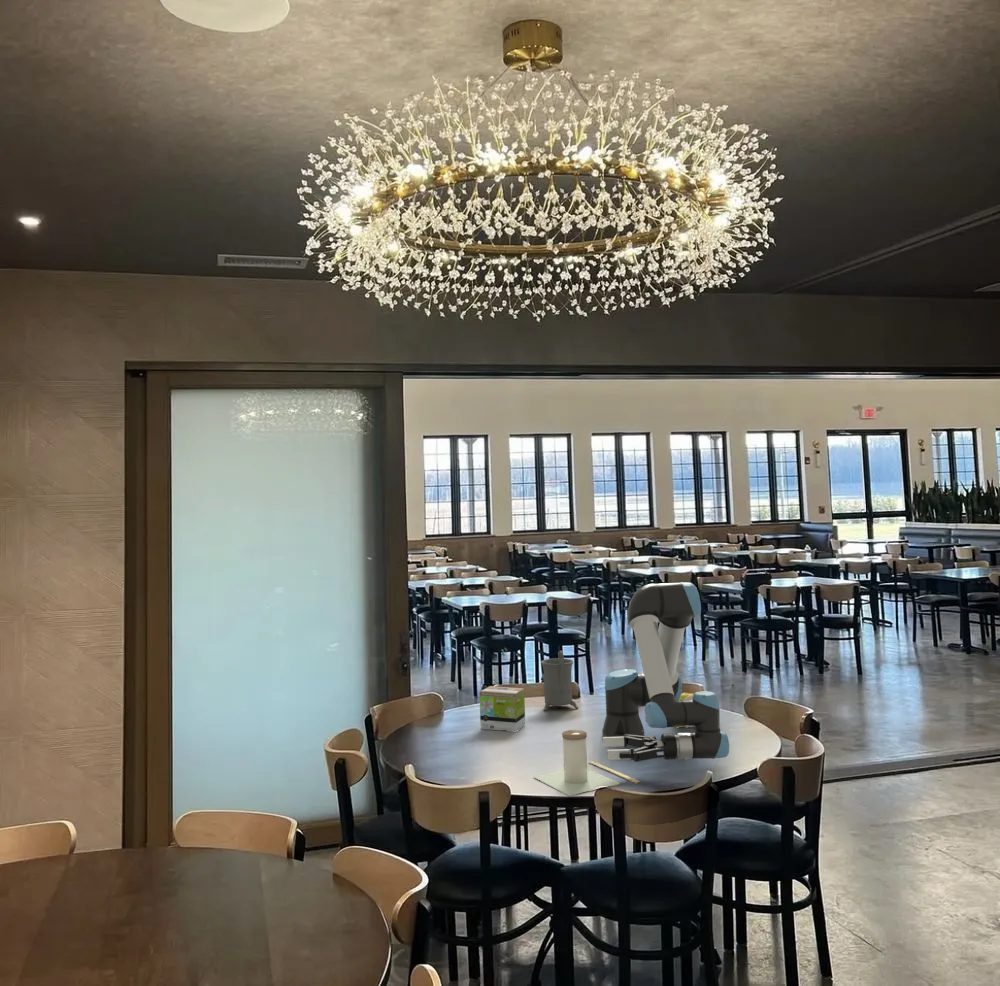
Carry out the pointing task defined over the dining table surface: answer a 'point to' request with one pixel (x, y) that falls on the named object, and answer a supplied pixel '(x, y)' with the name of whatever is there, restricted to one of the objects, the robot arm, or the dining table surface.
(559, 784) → the mat
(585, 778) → the canister
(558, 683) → the grey footed bucket
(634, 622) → the robot arm
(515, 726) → the tea box
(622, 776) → the tan wooden stick
